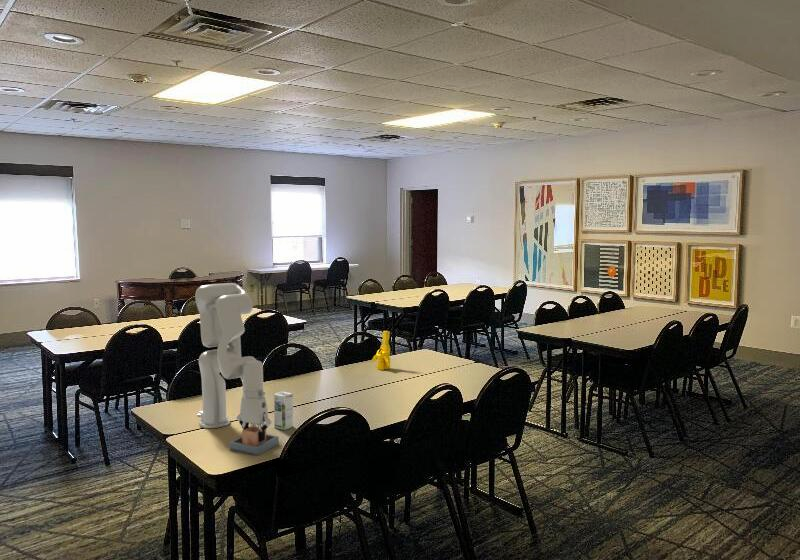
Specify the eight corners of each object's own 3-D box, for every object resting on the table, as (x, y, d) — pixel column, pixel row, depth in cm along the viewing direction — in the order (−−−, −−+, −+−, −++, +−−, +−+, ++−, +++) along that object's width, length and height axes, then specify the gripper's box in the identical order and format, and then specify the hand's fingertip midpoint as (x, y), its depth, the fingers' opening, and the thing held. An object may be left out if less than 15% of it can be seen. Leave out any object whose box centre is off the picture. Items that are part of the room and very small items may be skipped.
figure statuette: (368, 367, 357) (368, 330, 355) (379, 365, 362) (379, 328, 360) (387, 373, 343) (387, 334, 341) (397, 370, 348) (398, 332, 346)
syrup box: (273, 427, 253) (273, 393, 252) (284, 424, 258) (283, 390, 257) (283, 430, 250) (283, 396, 249) (293, 426, 255) (293, 392, 254)
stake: (249, 433, 247) (248, 419, 246) (253, 431, 249) (252, 417, 248) (254, 434, 246) (253, 420, 245) (257, 432, 248) (257, 418, 247)
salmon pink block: (252, 438, 236) (252, 425, 236) (266, 440, 234) (266, 428, 233) (238, 445, 229) (238, 432, 228) (252, 447, 226) (252, 434, 226)
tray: (229, 450, 229) (229, 442, 229) (251, 438, 241) (251, 431, 241) (257, 455, 224) (257, 447, 223) (278, 444, 235) (278, 436, 235)
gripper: (277, 393, 230) (278, 439, 232) (241, 388, 237) (242, 432, 239) (265, 398, 223) (266, 446, 225) (228, 393, 230) (229, 439, 232)
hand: (254, 438), depth 232 cm, fingers closed on salmon pink block, 6 cm apart
